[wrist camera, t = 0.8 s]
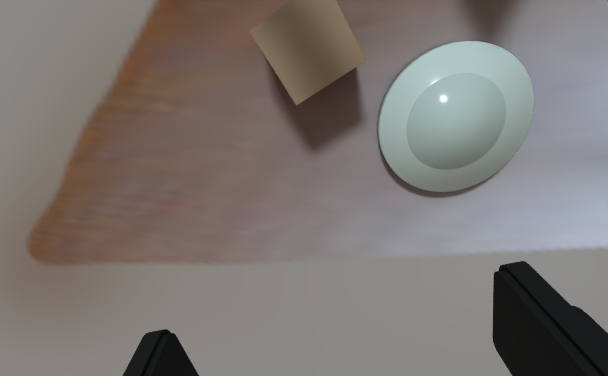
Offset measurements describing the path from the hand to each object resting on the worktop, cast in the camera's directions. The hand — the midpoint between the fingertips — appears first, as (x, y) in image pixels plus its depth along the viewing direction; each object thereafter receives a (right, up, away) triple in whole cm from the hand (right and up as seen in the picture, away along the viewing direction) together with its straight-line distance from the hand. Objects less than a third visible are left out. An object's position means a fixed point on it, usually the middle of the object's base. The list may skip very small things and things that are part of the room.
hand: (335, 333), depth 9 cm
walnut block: (-1, +17, +19) cm, 25 cm away
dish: (+13, +11, +21) cm, 27 cm away
